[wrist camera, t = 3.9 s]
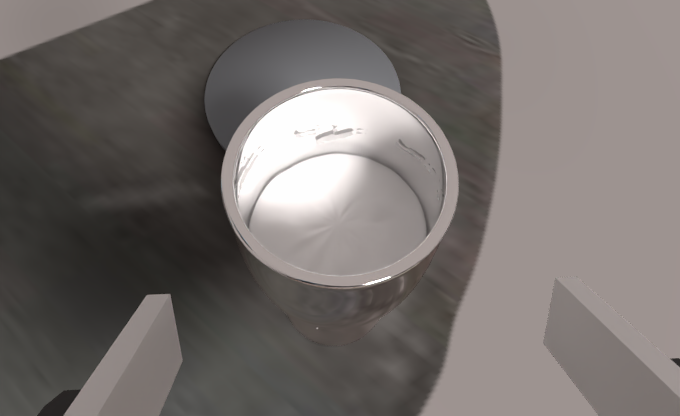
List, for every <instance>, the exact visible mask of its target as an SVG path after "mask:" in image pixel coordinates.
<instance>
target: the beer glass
mask: <svg viewBox="0 0 680 416" xmlns="http://www.w3.org/2000/svg"><path fill="white" fill-rule="evenodd" d="M458 191H459V179H458V170H457V165H456V161H455V157H454V154H453V151H452V149H451V146H450V144H449V142H448V140H447V138H446V137H445V135H444V133H443V132H442V130H441V129H440V127H439V126H438V125H437V123H436V122H435V121H434V120H433V119H432V118H431V117H430V116H429V115H428V114H427V113H426V112H425V111H424V110H423V109H422V108H421V107H420V106H418V105H417V104H416V103H414V102H413V101H412V100H410V99H409V98H407V97H405V96H404V95H402V94H400V93H398V92H396V91H394V90H392V89H390V88H387V87H385V86H382V85H379V84H375V83H372V82H368V81H363V80H357V79H347V78H329V79H320V80H314V81H309V82H305V83H301V84H298V85H295V86H292V87H290V88H287V89H285V90H283V91H281V92H279V93H277V94H275V95H273V96H272V97H270V98H268V99H267V100H265V101H264V102H263V103H261V104H260V105H259V106H258V107H256V108H255V109H254V110H253V111H252V112H251V113H250V114H249V115H248V116H247V117H246V118H245V119H244V121H243V122H242V123H241V124H240V126H239V127H238V128H237V130H236V132H235V133H234V135H233V137H232V139H231V141H230V143H229V145H228V147H227V150H226V153H225V156H224V160H223V164H222V170H221V195H222V201H223V205H224V209H225V212H226V215H227V218H228V220H229V223H230V225H231V227H232V229H233V231H234V234H235V238H236V240H237V243H238V246H239V249H240V252H241V254H242V257H243V259H244V261H245V263H246V265H247V267H248V269H249V271H250V273H251V275H252V277H253V278H254V280H255V281H256V283H257V284H258V286H259V287H260V288H261V289H262V291H263V292H264V293H265V294H266V296H267V297H268V298H269V299H270V300H271V301H272V302H273V303H274V304H275V305H276V306H277V307H278V308H279V309H280V310H282V311H283V312H284V313H286V314H287V316H288V318H289V320H290V322H291V323H292V325H293V326H294V327H295V329H296V330H297V331H298V332H299V333H300V334H302V335H303V336H304V337H306V338H307V339H309V340H311V341H313V342H315V343H318V344H321V345H326V346H342V345H347V344H350V343H353V342H356V341H358V340H359V339H361V338H363V337H364V336H365V335H367V334H368V333H369V332H370V331H371V330H372V329H373V328H374V326H375V325H376V324H377V322H378V321H379V319H380V318H382V317H383V316H385V315H387V314H388V313H390V312H391V311H392V310H394V309H395V308H396V307H397V306H398V305H399V304H400V303H401V302H402V301H403V300H404V299H405V298H406V297H407V296H408V295H409V294H410V293H411V292H412V291H413V290H414V288H415V287H416V286H417V284H418V283H419V282H420V280H421V278H422V277H423V275H424V274H425V272H426V270H427V269H428V267H429V265H430V263H431V261H432V259H433V257H434V255H435V253H436V251H437V249H438V247H439V244H440V242H441V240H442V238H443V237H444V235H445V233H446V232H447V230H448V228H449V226H450V224H451V221H452V219H453V216H454V213H455V209H456V205H457V200H458Z"/></svg>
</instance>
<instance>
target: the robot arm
mask: <svg viewBox="0 0 680 416" xmlns="http://www.w3.org/2000/svg"><path fill="white" fill-rule="evenodd" d="M544 345H545V346H546V347H547V349H548V350H549V351H550V353H551V354H552V355H553V357H554V358H555V359H556V360H557V362H558V363H559V364H560V366H561V367H562V368H563V369H564V371H565V372H566V373H567V375H568V376H569V377H570V379H571V380H572V381H573V383H574V384H575V385H576V387H577V388H578V389H579V391H580V392H581V393H582V394H583V396H584V397H585V398H586V400H587V401H588V402H589V404H590V405H591V406H592V407H593V409H594V410H595V411H596V413H597V414H598V415H599V416H680V359H679V358H676V359H670V358H669V357H667V356H666V355H665V354H664V353H663V352H662V351H661V350H660V349H658V348H657V347H656V346H655V345H654V344H653V343H652V342H650V341H649V340H648V339H647V338H646V337H645V336H644V335H643V334H641V333H640V332H639V331H638V330H637V329H636V328H634V327H633V326H632V325H631V324H630V323H629V322H628V321H627V320H625V319H624V318H623V317H622V316H621V315H620V314H619V313H618V312H616V311H615V310H614V309H613V308H612V307H611V306H610V305H608V304H607V303H606V302H605V301H604V300H603V299H601V297H599V296H598V295H597V294H596V293H595V292H594V291H593V290H591V289H590V288H589V287H588V286H587V285H586V284H585V283H584V282H582V281H581V280H580V279H579V278H578V277H558V278H555V283H554V288H553V293H552V299H551V304H550V310H549V315H548V320H547V326H546V331H545V337H544ZM182 361H183V360H182V354H181V349H180V344H179V338H178V333H177V327H176V322H175V317H174V311H173V306H172V301H171V295H170V294H155V295H146V297H145V298H144V300H143V301H142V303H141V304H140V306H139V307H138V308H137V310H136V311H135V313H134V314H133V316H132V317H131V319H130V320H129V321H128V323H127V324H126V326H125V327H124V329H123V330H122V332H121V333H120V334H119V336H118V337H117V339H116V340H115V342H114V343H113V345H112V346H111V347H110V349H109V350H108V352H107V353H106V355H105V356H104V358H103V359H102V361H101V362H100V363H99V365H98V366H97V368H96V369H95V371H94V372H93V374H92V375H91V376H90V378H89V379H88V381H87V382H86V384H85V385H84V387H83V388H82V389H81V390H67V391H63V392H62V393H61V394H59V395H58V396H57V397H56V398H54V399H53V400H52V401H51V402H49V403H48V404H47V405H46V406H44V408H43V409H42V410H41V412H40V413H39V414H38V415H37V416H159V414H160V412H161V410H162V407H163V405H164V403H165V400H166V398H167V396H168V393H169V391H170V389H171V386H172V384H173V382H174V380H175V377H176V375H177V373H178V370H179V368H180V366H181V363H182Z"/></svg>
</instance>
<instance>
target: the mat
mask: <svg viewBox="0 0 680 416" xmlns="http://www.w3.org/2000/svg"><path fill="white" fill-rule="evenodd" d="M329 78H347V79H357V80H363V81H368V82H372V83H375V84H379V85H382V86H385V87H387V88H390V89H392V90H394V91H396V92H398V93H400V94H401V89H400V83H399V80H398V77H397V74H396V71H395V69H394V67H393V65H392V63H391V62H390V60H389V59H388V58H387V56H386V55H385V54H384V52H383V51H382V50H381V49H380V48H379V47H378V46H377V45H375V44H374V43H373V42H372V41H371V40H369V39H368V38H366V37H365V36H363V35H362V34H360V33H358V32H356V31H354V30H352V29H350V28H347V27H344V26H342V25H339V24H335V23H331V22H326V21H320V20H306V19H305V20H290V21H282V22H278V23H274V24H270V25H267V26H264V27H261V28H259V29H257V30H254V31H252V32H250V33H248V34H247V35H245V36H243V37H242V38H240V39H239V40H237V41H236V42H235V43H233V44H232V45H231V46H230V47H229V48H228V49H227V50H226V51H225V52H224V53H223V54H222V55H221V57H220V58H219V59H218V60H217V62H216V63H215V65H214V67H213V69H212V70H211V73H210V75H209V78H208V80H207V84H206V89H205V100H204V101H205V111H206V115H207V118H208V122H209V124H210V126H211V129H212V131H213V133H214V135H215V137H216V139H217V141H218V142H219V144H220V145H221V147H222V148H223V149H224V150H225V151H226V150H227V147H228V145H229V143H230V141H231V139H232V137H233V135H234V133H235V132H236V130H237V128H238V127H239V126H240V124H241V123H242V122H243V121H244V119H245V118H246V117H247V116H248V115H249V114H250V113H251V112H252V111H253V110H254V109H255V108H256V107H258V106H259V105H260V104H261V103H263V102H264V101H265V100H267V99H268V98H270V97H272V96H273V95H275V94H277V93H279V92H281V91H283V90H285V89H287V88H290V87H292V86H295V85H298V84H301V83H305V82H309V81H314V80H320V79H329Z"/></svg>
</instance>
